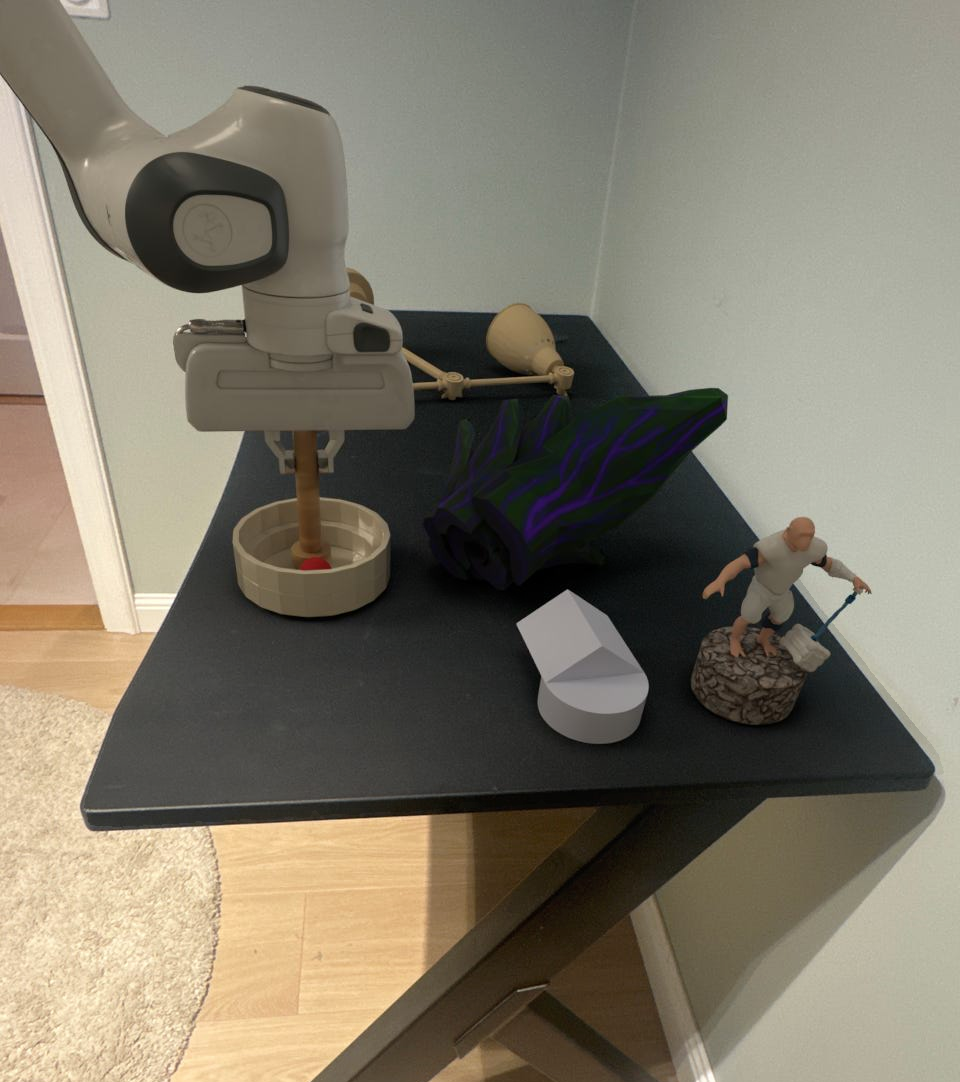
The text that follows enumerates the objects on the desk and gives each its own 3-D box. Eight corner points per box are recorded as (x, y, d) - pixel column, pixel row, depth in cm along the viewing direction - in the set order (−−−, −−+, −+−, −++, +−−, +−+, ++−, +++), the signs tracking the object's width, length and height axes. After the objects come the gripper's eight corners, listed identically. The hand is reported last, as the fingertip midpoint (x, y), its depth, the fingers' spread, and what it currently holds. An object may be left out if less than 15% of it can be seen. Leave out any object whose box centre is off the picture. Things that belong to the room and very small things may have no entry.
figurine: (682, 731, 66) (741, 547, 55) (648, 667, 73) (695, 492, 62) (837, 722, 68) (923, 544, 58) (791, 660, 75) (859, 491, 64)
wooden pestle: (292, 572, 79) (281, 424, 69) (291, 552, 82) (280, 407, 72) (332, 570, 80) (327, 424, 70) (329, 550, 83) (324, 407, 73)
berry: (300, 587, 79) (301, 592, 76) (298, 555, 78) (299, 559, 75) (332, 585, 79) (334, 591, 76) (330, 554, 79) (332, 558, 76)
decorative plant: (433, 627, 91) (584, 492, 104) (604, 662, 71) (762, 490, 85) (348, 471, 81) (528, 344, 94) (520, 461, 61) (714, 303, 75)
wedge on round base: (512, 652, 73) (556, 749, 63) (520, 592, 69) (568, 686, 59) (601, 644, 75) (657, 736, 65) (613, 585, 71) (676, 675, 61)
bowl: (237, 627, 73) (230, 577, 69) (240, 545, 84) (234, 499, 81) (398, 616, 76) (399, 568, 73) (379, 539, 88) (379, 495, 85)
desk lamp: (289, 280, 124) (471, 392, 109) (441, 233, 143) (614, 323, 127) (295, 366, 135) (460, 478, 120) (435, 311, 154) (593, 403, 139)
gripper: (166, 329, 62) (190, 489, 70) (420, 333, 66) (415, 482, 74) (172, 308, 66) (194, 459, 75) (409, 313, 71) (405, 455, 79)
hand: (307, 471), depth 75 cm, fingers closed on wooden pestle, 2 cm apart
